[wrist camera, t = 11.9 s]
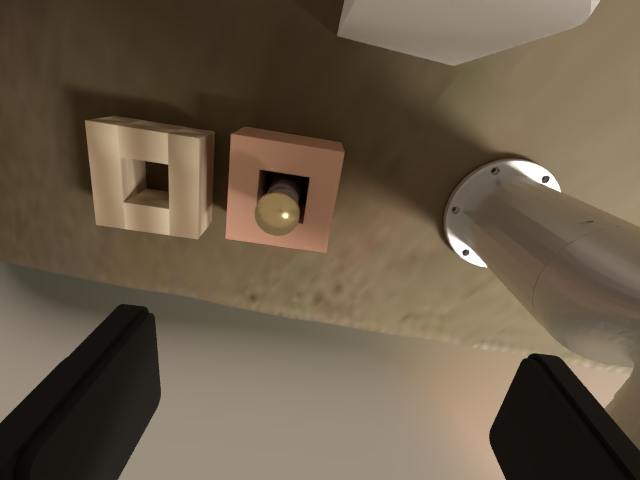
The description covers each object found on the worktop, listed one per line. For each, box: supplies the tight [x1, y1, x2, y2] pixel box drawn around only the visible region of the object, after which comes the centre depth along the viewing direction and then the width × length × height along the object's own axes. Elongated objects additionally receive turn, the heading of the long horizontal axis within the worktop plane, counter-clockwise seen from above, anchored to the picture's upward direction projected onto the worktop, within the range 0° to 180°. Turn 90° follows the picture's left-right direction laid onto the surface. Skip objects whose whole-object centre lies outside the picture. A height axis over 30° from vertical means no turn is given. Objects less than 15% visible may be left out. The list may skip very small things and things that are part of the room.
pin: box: [254, 172, 302, 236], centre depth 33 cm, size 4×4×11 cm
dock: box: [226, 127, 345, 253], centre depth 35 cm, size 10×10×6 cm
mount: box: [85, 116, 215, 239], centre depth 35 cm, size 10×10×5 cm
